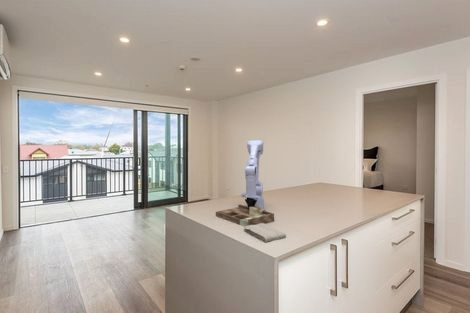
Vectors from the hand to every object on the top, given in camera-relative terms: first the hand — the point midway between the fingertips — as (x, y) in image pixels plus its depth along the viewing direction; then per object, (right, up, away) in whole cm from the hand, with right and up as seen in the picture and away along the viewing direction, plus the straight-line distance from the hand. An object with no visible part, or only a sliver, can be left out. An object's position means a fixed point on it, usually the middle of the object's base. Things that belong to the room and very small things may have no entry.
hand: (251, 211), depth 138 cm
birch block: (+2, -1, -3) cm, 4 cm away
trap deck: (-4, -3, -2) cm, 6 cm away
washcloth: (+4, -5, -27) cm, 27 cm away
